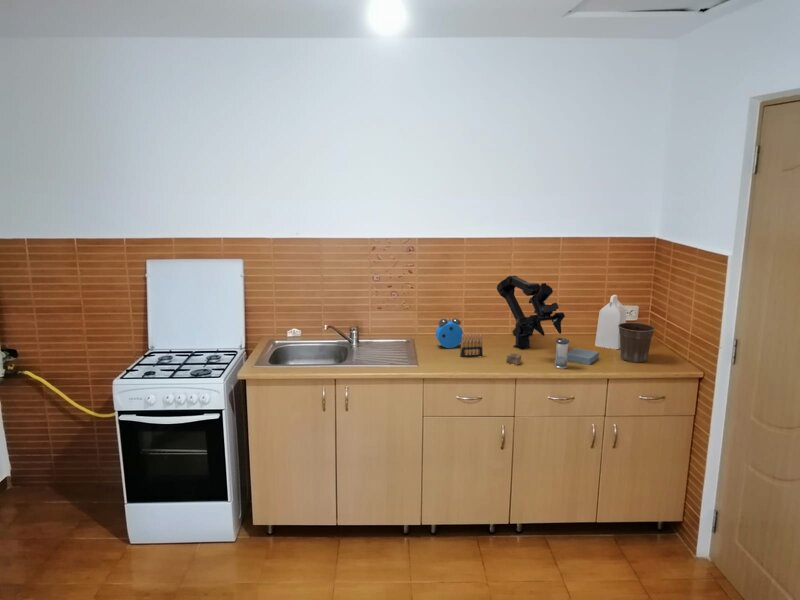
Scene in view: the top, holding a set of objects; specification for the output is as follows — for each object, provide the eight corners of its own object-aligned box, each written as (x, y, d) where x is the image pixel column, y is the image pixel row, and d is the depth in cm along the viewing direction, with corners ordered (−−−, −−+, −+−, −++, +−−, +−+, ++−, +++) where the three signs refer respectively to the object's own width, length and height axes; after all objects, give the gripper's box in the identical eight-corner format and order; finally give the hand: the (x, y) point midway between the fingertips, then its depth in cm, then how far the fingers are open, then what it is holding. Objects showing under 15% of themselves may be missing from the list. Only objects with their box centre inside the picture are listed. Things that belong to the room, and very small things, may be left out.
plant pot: (610, 353, 297) (613, 321, 293) (643, 353, 297) (646, 322, 293) (622, 364, 281) (625, 331, 277) (657, 364, 281) (660, 331, 277)
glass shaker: (551, 366, 278) (553, 339, 275) (559, 364, 281) (561, 337, 278) (562, 369, 273) (563, 342, 271) (570, 367, 277) (571, 340, 274)
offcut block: (506, 363, 282) (506, 355, 281) (510, 360, 286) (511, 352, 285) (516, 365, 279) (517, 357, 278) (520, 362, 283) (521, 354, 283)
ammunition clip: (481, 355, 294) (482, 331, 291) (482, 356, 292) (483, 332, 289) (460, 356, 292) (460, 332, 289) (461, 357, 290) (461, 333, 288)
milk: (602, 340, 319) (606, 292, 313) (624, 344, 312) (628, 295, 306) (594, 345, 309) (598, 296, 304) (617, 349, 303) (622, 299, 297)
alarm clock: (460, 344, 311) (460, 316, 308) (463, 348, 305) (464, 319, 302) (435, 345, 309) (435, 317, 305) (438, 349, 303) (438, 320, 299)
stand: (564, 359, 287) (565, 353, 287) (574, 353, 297) (574, 347, 296) (589, 364, 280) (589, 358, 279) (598, 358, 289) (598, 352, 289)
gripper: (530, 298, 279) (543, 327, 272) (564, 295, 286) (577, 323, 278) (520, 311, 288) (532, 339, 281) (553, 308, 295) (565, 335, 287)
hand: (552, 334), depth 281 cm, fingers open, 9 cm apart
